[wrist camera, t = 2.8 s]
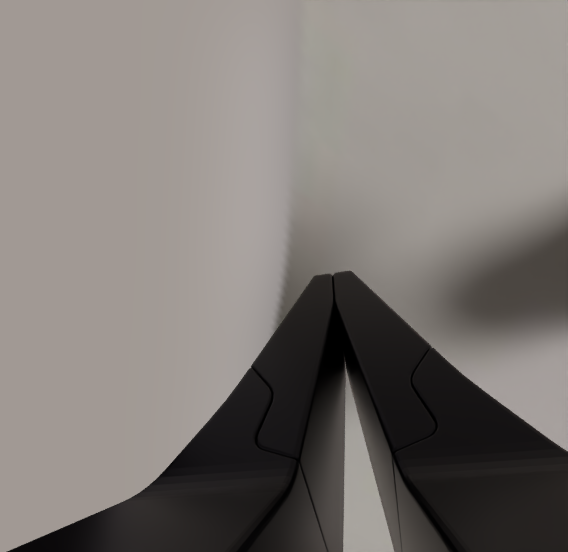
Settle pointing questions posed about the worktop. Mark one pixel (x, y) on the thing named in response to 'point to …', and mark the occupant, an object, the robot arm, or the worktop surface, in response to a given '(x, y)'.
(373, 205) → the worktop surface
